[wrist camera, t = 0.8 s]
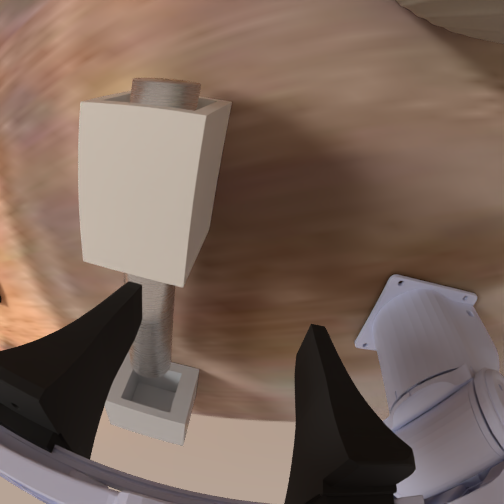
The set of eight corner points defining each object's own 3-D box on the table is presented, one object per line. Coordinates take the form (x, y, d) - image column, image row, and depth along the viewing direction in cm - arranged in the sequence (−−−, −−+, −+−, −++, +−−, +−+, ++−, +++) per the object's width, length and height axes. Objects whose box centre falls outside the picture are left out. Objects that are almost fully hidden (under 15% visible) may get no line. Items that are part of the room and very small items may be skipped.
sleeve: (232, 101, 18) (206, 115, 12) (209, 229, 23) (183, 287, 17) (138, 89, 18) (80, 101, 12) (129, 211, 23) (83, 261, 17)
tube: (207, 83, 16) (190, 86, 13) (175, 351, 28) (164, 383, 25) (148, 76, 16) (120, 79, 13) (138, 341, 28) (124, 371, 25)
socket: (199, 369, 31) (184, 424, 26) (195, 396, 34) (183, 445, 28) (125, 348, 31) (102, 398, 25) (129, 377, 34) (110, 424, 28)
